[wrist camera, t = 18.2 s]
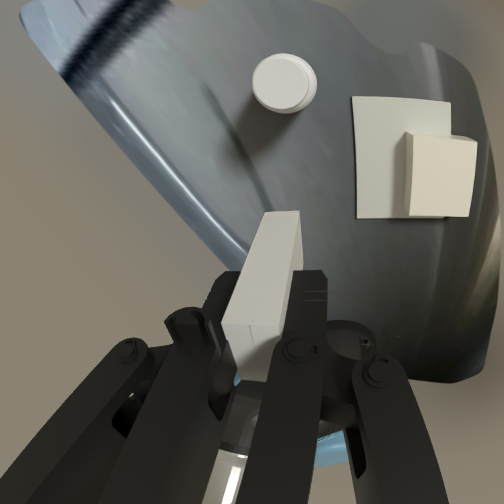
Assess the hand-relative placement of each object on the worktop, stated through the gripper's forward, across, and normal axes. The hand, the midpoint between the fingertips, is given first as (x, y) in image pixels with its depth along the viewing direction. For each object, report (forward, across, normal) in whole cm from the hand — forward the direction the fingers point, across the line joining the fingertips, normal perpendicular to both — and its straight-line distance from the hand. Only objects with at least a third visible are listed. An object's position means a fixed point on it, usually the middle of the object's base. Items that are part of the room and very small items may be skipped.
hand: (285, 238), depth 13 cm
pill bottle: (+25, +1, -7) cm, 26 cm away
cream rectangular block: (+23, -12, +4) cm, 26 cm away
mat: (+24, -12, +3) cm, 28 cm away
